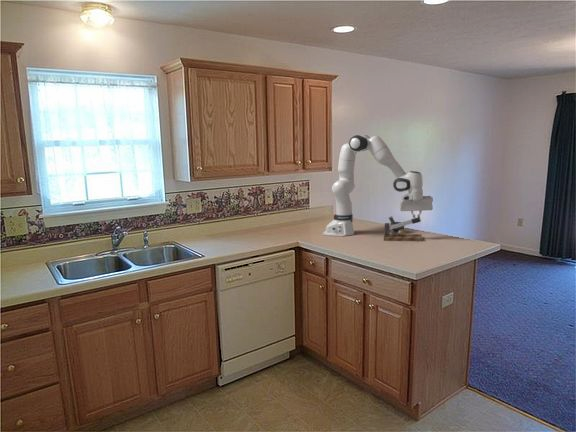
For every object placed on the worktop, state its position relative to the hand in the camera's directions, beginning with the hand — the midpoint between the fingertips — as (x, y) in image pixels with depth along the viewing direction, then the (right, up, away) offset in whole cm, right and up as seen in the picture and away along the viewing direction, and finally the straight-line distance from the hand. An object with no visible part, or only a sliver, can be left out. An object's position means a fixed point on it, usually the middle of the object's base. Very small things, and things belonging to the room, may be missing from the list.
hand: (416, 217), depth 267 cm
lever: (-7, -5, +3) cm, 9 cm away
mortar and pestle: (-7, -11, +24) cm, 27 cm away
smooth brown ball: (-9, -12, +5) cm, 16 cm away
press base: (-8, -14, +5) cm, 17 cm away
